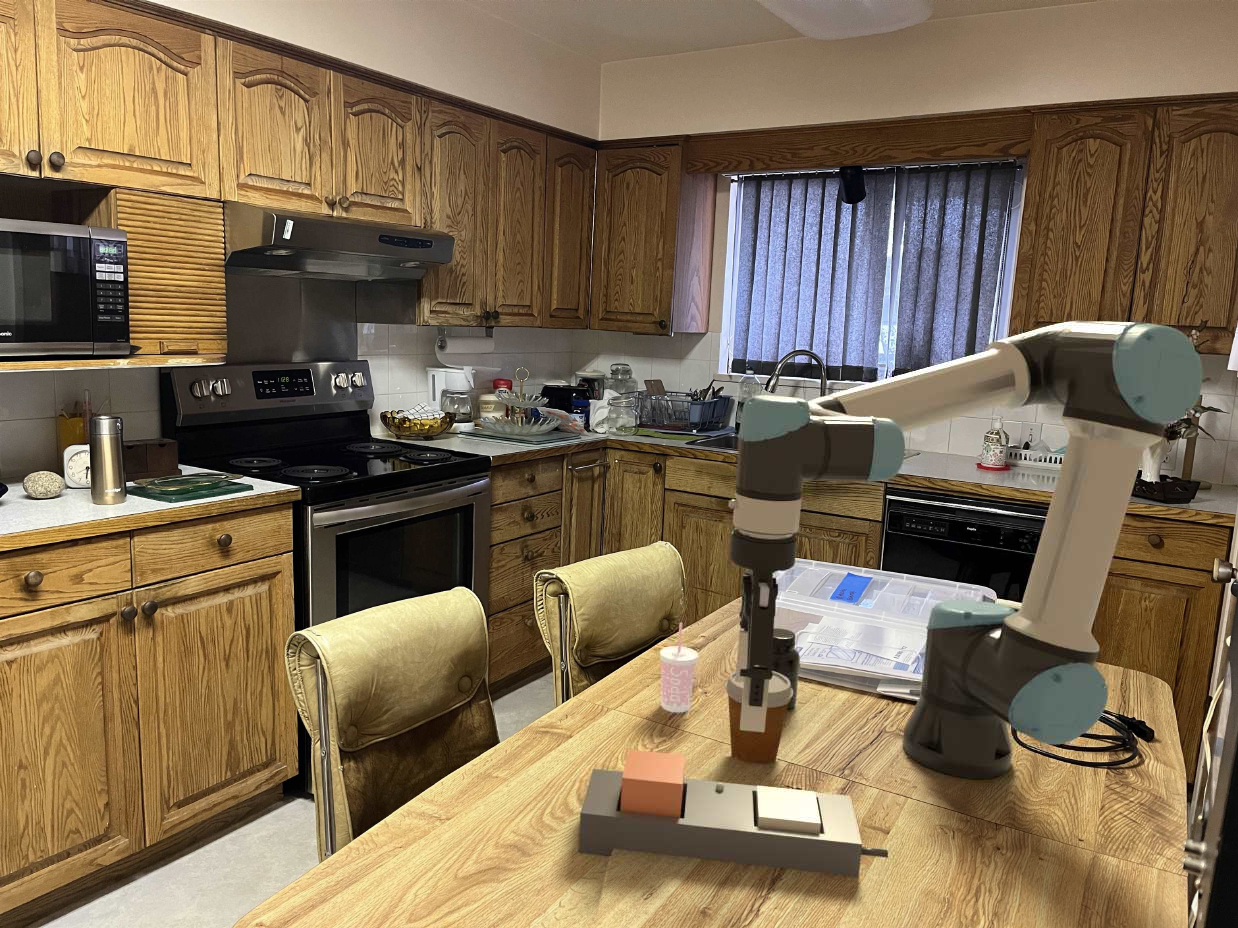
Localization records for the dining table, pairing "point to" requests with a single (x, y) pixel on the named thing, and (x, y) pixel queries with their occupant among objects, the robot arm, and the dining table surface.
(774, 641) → the supplement bottle
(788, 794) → the button ivory
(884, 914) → the dining table surface
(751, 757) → the disposable coffee cup
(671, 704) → the beverage cup
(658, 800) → the button orange
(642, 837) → the push button control box
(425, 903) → the dining table surface
